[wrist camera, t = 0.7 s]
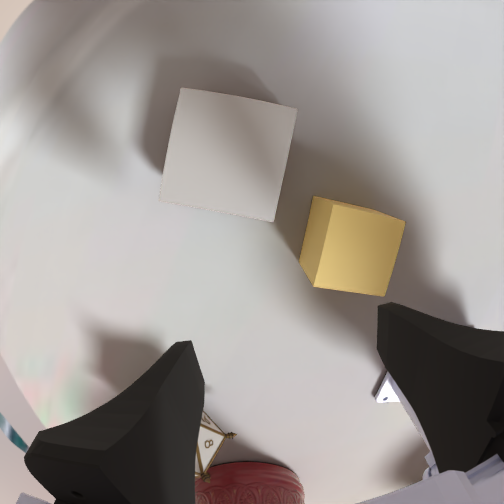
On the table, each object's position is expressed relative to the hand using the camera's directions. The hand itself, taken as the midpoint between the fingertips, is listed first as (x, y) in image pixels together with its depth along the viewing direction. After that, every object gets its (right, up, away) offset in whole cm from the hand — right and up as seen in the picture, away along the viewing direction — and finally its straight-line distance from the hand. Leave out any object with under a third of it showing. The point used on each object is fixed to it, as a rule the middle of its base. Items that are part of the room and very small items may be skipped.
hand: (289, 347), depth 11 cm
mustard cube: (+4, +5, +9) cm, 11 cm away
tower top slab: (-3, +9, +6) cm, 11 cm away
